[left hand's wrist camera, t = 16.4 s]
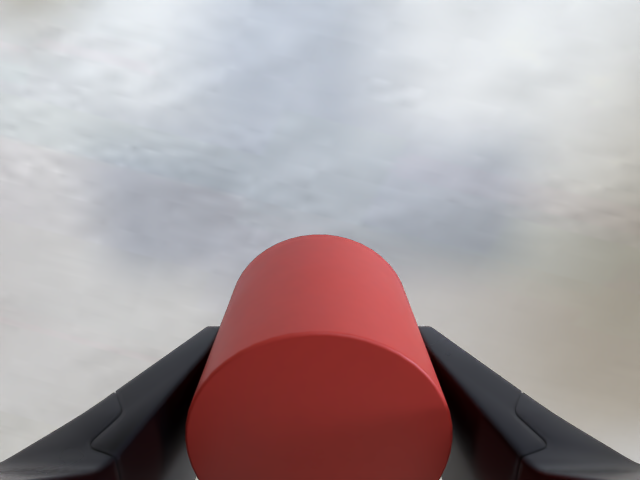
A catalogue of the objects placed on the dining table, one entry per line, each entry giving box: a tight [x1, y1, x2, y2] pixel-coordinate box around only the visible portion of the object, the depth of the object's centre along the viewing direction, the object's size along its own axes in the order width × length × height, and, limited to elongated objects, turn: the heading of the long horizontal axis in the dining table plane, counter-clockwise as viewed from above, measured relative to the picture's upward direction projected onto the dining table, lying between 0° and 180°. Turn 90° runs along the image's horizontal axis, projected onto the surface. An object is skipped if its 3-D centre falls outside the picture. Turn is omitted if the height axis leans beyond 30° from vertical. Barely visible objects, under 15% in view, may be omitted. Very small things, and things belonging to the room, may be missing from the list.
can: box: [185, 235, 453, 480], centre depth 10 cm, size 5×5×5 cm
